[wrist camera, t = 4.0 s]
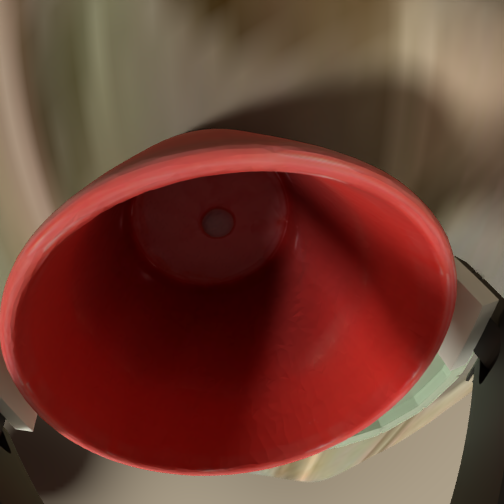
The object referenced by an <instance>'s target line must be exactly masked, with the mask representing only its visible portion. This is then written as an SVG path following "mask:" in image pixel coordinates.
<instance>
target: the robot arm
mask: <svg viewBox="0 0 504 504" xmlns="http://www.w3.org/2000/svg"><path fill="white" fill-rule="evenodd" d="M454 260H455V266H456V273H457V298H456V303H455V309H454V313H453V317H452V320H451V323H450V326H449V329H448V331H447V334H446V336H445V338H444V340H443V343H442V345H441V347H440V349H439V351H438V354H439V356H440V357H441V358H442V360H443V361H444V363H445V364H446V366H447V367H448V369H449V370H450V371H452V370H454V369H457V368H459V367H461V366H463V365H466V364H467V362H468V360H469V359H470V357H471V355H472V353H473V352H475V354H476V355H477V356H478V359H477V361H476V362H475V364H474V366H473V367H472V369H471V371H470V372H469V374H468V375H467V378H466V381H469V379H470V378H471V376H472V375H473V374H474V380H473V381H472V382H473V391H472V400H471V408H470V416H469V422H468V429H467V435H466V440H465V446H464V451H463V456H462V460H461V465H460V469H459V473H458V477H457V482H456V485H455V489H454V492H453V496H452V499H451V503H450V504H504V298H503V297H502V296H501V295H500V294H499V293H498V292H497V291H496V290H495V289H494V288H493V287H492V286H491V285H490V284H489V283H488V282H487V281H486V280H485V279H482V277H481V276H480V275H479V274H478V273H476V272H475V270H474V269H473V268H472V267H471V266H470V265H469V264H468V263H466V262H465V261H463V260H461V259H459V258H458V257H456V256H454ZM0 308H1V306H0ZM36 417H37V413H36V412H35V411H34V410H33V409H32V407H31V406H30V405H29V404H28V403H27V401H26V400H25V399H24V397H23V396H22V394H21V393H20V392H19V390H18V388H17V387H16V385H15V383H14V382H13V380H12V378H11V376H10V374H9V372H8V369H7V367H6V364H5V360H4V357H3V354H2V350H1V344H0V504H44V503H43V501H42V500H41V498H40V496H39V495H38V493H37V491H36V489H35V487H34V485H33V484H32V482H31V480H30V478H29V476H28V474H27V472H26V470H25V468H24V466H23V464H22V462H21V460H20V458H19V455H18V453H17V451H16V449H15V447H14V445H13V442H12V440H11V437H10V435H9V433H8V431H7V430H6V429H5V428H4V427H3V426H4V422H5V419H6V420H7V421H8V422H9V423H10V424H11V425H12V426H13V427H14V428H15V429H18V430H25V431H33V429H34V425H35V421H36Z"/></svg>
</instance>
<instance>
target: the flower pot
mask: <svg viewBox="0 0 504 504" xmlns="http://www.w3.org/2000/svg"><path fill="white" fill-rule="evenodd" d="M456 298H457V273H456V266H455V260H454V256H453V252H452V249H451V246H450V243H449V240H448V237H447V235H446V234H445V232H444V230H443V228H442V226H441V225H440V223H439V221H438V220H437V219H436V217H435V216H434V214H433V213H432V212H431V210H430V209H429V208H428V207H427V206H426V205H425V204H424V202H423V201H422V200H421V199H420V198H419V197H417V196H416V195H415V194H414V193H413V192H412V191H411V190H410V189H409V188H407V187H406V186H405V185H403V184H402V183H401V182H400V181H398V180H397V179H395V178H394V177H392V176H390V175H389V174H387V173H386V172H384V171H382V170H381V169H378V168H376V167H374V166H372V165H370V164H368V163H365V162H363V161H361V160H359V159H356V158H354V157H351V156H348V155H345V154H342V153H339V152H336V151H333V150H330V149H327V148H323V147H320V146H316V145H312V144H308V143H303V142H299V141H294V140H289V139H285V138H280V137H275V136H269V135H263V134H257V133H252V132H246V131H239V130H231V129H205V130H197V131H192V132H187V133H184V134H180V135H177V136H174V137H171V138H169V139H167V140H164V141H162V142H160V143H158V144H155V145H153V146H151V147H150V148H148V149H146V150H144V151H142V152H140V153H139V154H137V155H135V156H133V157H132V158H130V159H128V160H126V161H125V162H123V163H121V164H119V165H118V166H116V167H114V168H113V169H111V170H109V171H108V172H106V173H105V174H103V175H102V176H100V177H99V178H97V179H96V180H94V181H93V182H92V183H90V184H89V185H87V186H86V187H85V188H83V189H82V190H80V191H79V192H78V193H76V194H75V195H74V196H72V197H71V198H70V199H68V200H67V201H66V202H65V203H64V204H63V205H61V206H60V207H59V208H58V209H57V210H56V211H55V212H53V213H52V214H51V215H50V216H49V217H48V218H47V219H46V220H45V221H44V222H43V224H42V225H41V226H40V227H39V228H38V229H37V230H36V231H35V233H34V234H33V235H32V236H31V238H30V239H29V240H28V242H27V243H26V245H25V246H24V248H23V249H22V251H21V252H20V254H19V255H18V257H17V259H16V261H15V263H14V265H13V267H12V270H11V272H10V274H9V277H8V279H7V282H6V285H5V288H4V292H3V296H2V302H1V308H0V344H1V350H2V354H3V357H4V360H5V364H6V367H7V369H8V372H9V374H10V376H11V378H12V380H13V382H14V383H15V385H16V387H17V388H18V390H19V392H20V393H21V394H22V396H23V397H24V399H25V400H26V401H27V403H28V404H29V405H30V406H31V407H32V409H33V410H34V411H35V412H36V413H37V414H38V415H39V416H40V417H41V418H42V419H43V420H44V421H45V422H46V423H48V424H49V425H50V426H51V427H53V428H54V429H55V430H57V431H58V432H59V433H60V434H62V435H63V436H65V437H66V438H68V439H69V440H71V441H73V442H74V443H76V444H78V445H80V446H81V447H83V448H85V449H87V450H89V451H91V452H93V453H95V454H98V455H100V456H103V457H105V458H107V459H110V460H112V461H115V462H119V463H122V464H125V465H129V466H132V467H136V468H140V469H145V470H150V471H156V472H162V473H170V474H180V475H192V476H212V475H213V476H215V475H230V474H239V473H247V472H253V471H259V470H264V469H269V468H273V467H277V466H281V465H285V464H288V463H292V462H295V461H298V460H301V459H304V458H307V457H309V456H312V455H315V454H317V453H320V452H322V451H324V450H326V449H328V448H331V447H333V446H335V445H337V444H339V443H341V442H343V441H345V440H347V439H348V438H350V437H352V436H354V435H355V434H357V433H359V432H360V431H362V430H364V429H365V428H367V427H368V426H370V425H371V424H372V423H374V422H375V421H376V420H378V419H379V418H380V417H381V416H383V415H384V414H385V413H386V412H388V411H389V410H390V409H391V408H392V407H393V406H394V405H396V404H397V403H398V402H399V401H400V400H401V399H402V398H403V397H404V396H405V395H406V394H407V393H408V392H409V391H410V390H411V389H412V387H413V386H414V385H415V384H416V383H417V382H418V380H419V379H420V378H421V377H422V375H423V374H424V372H425V371H426V370H427V368H428V367H429V365H430V364H431V363H432V361H433V359H434V357H435V356H436V354H437V353H438V351H439V349H440V347H441V345H442V343H443V340H444V338H445V336H446V334H447V331H448V329H449V326H450V323H451V320H452V317H453V313H454V309H455V303H456Z"/></svg>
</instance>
